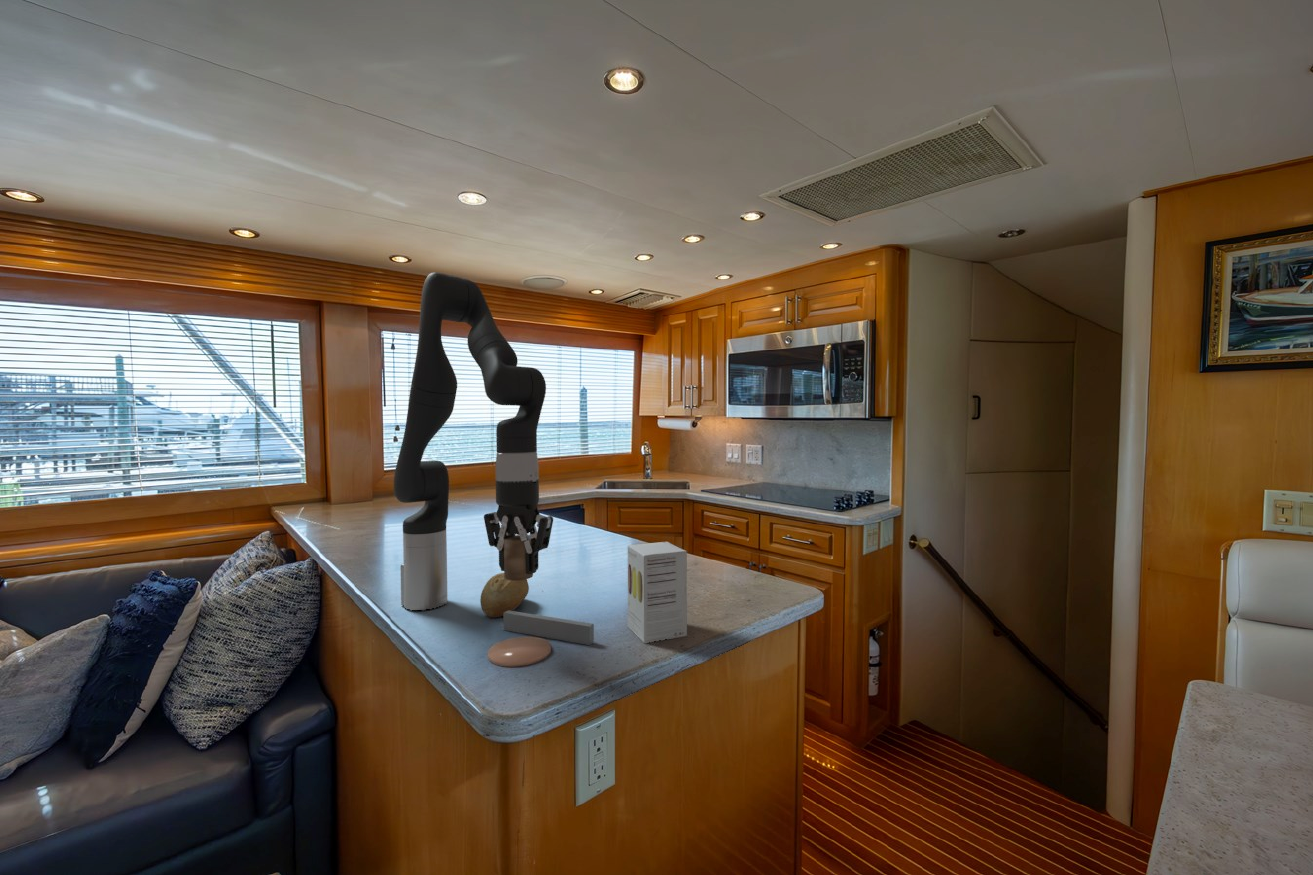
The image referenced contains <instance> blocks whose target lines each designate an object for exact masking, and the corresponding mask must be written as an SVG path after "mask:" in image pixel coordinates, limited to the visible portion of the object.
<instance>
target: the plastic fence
mask: <svg viewBox="0 0 1313 875" xmlns="http://www.w3.org/2000/svg"><path fill="white" fill-rule="evenodd" d="M502 617H503V631H508V632H513V633H519V634H525V635H530V636H534V637H540V638H547V639H552V640H559V641H565V642H568V643H569V642H570V643H575V644H581V645H587V646H591V645H592V644H594V643H595V630H594V629H595V625H594V623H590V622H585V621H578V620H572V619H566V618H559V617H553V616H548V615H539V614H533V613H528V612H520V611H515V610H513V611H509V610H508V611H506V612H504V613H503V616H502Z"/></svg>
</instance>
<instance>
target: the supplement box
mask: <svg viewBox="0 0 1313 875" xmlns="http://www.w3.org/2000/svg"><path fill="white" fill-rule="evenodd" d="M687 556H688V551H687V550H685V549H683V548H680V547H678V546H676V545H674V544H672V543H670V542H669V541H661V542H660V541H659V542H649V543H637V544H629V545H627V628H629V629H630V631H631V632H633V633H634V634H635V635H636V636H637V638H638V639H640V641H641V642H642V643H643V644H649V642H650V643H655V642H654V641H656V642H660V641H659V640H661V641H666V640H665V639H667V640H672V639H678V638H682V637H683V638H684V637H687V636H688V594H687V593H688V592H687V589H688V588H687V584H688V576H687V575H688V557H687Z"/></svg>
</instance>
